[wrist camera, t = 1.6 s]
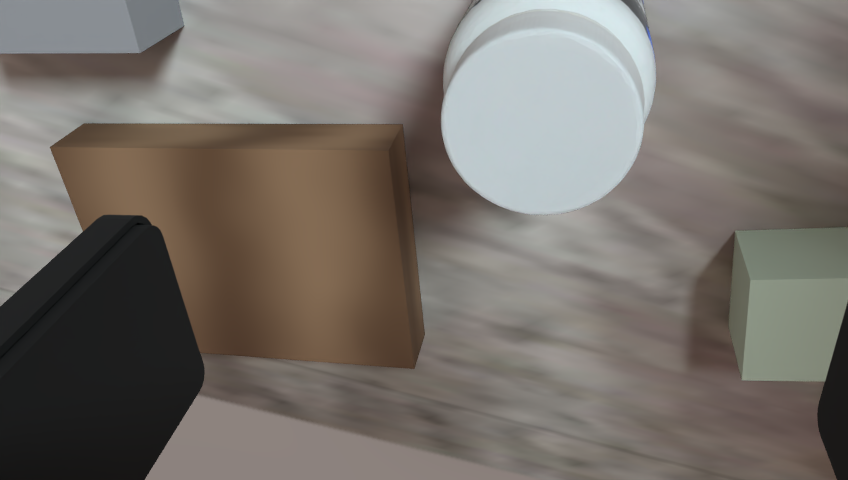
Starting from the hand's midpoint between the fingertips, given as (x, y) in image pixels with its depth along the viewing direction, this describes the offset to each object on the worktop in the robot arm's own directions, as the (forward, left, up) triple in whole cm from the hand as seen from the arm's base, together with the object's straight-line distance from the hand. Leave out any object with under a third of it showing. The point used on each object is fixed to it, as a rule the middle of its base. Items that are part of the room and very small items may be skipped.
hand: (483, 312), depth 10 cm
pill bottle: (0, 0, -14) cm, 14 cm away
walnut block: (+11, +8, -14) cm, 19 cm away
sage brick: (-9, +9, -14) cm, 19 cm away
